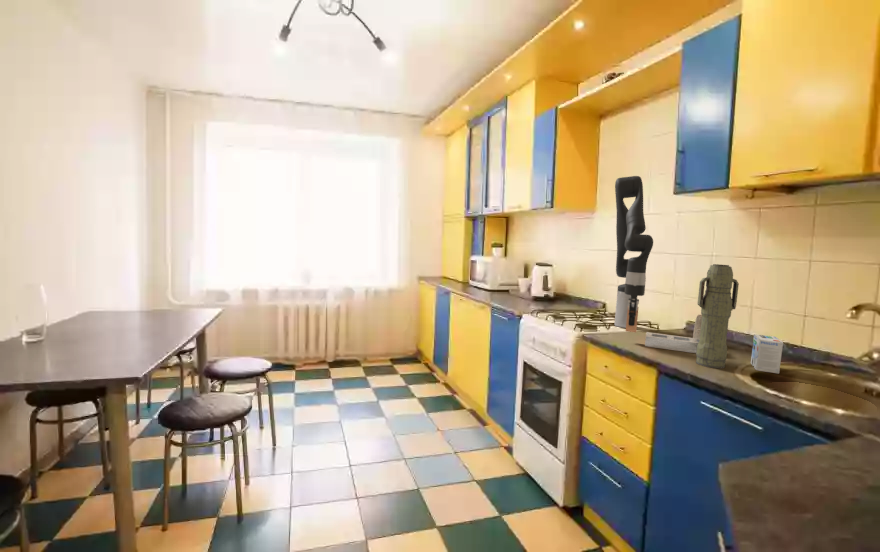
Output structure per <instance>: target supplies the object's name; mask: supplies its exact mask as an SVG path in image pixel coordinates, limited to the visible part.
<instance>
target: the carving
mask: <svg viewBox="0 0 880 552" xmlns="http://www.w3.org/2000/svg"><path fill="white" fill-rule="evenodd" d="M701 322H702V314H698V315H697V316H696V317H695V322H694V326H693V327H694V328H693V335H692V338H697V339H700V332H701Z"/></svg>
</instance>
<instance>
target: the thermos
mask: <svg viewBox="0 0 880 552" xmlns="http://www.w3.org/2000/svg"><path fill="white" fill-rule="evenodd" d="M731 290H732V293H731ZM738 291H739V282H738V279H735V278H734V272H733V268H732V266H730V265H729V264H718V263H717V264H715V263H714V264H711V265H709V268H708V270H707V273H706V277H703V278H701V280H700V281H699V287H698V294H697V295H698V297H697V305H698V306H699V307H700V315H702V322H701V332H700V340H699V342H698V344H697V352H696V353H695V356H696V360H695V363H696V364H697V365H699V366H702V367H706V368H712V369H724V368H726V367H725V366H726V365H725V364H726V361H727V355H728V346H727V337H728V331H729V330H728V329H729V321H730V320H729V319H730V318H731V316H732V311H733V310H736V307H737V302H738V294H739V292H738Z"/></svg>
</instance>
